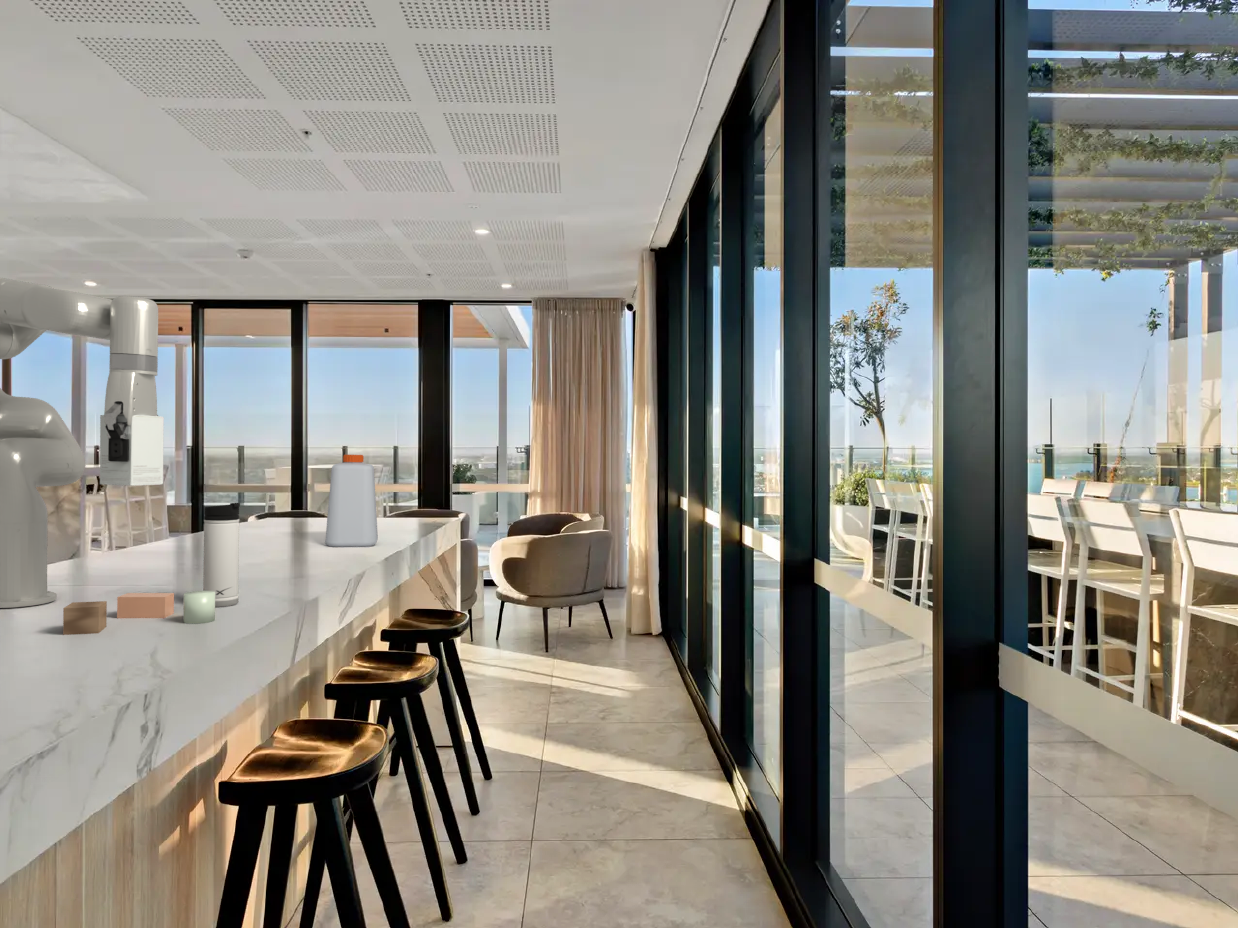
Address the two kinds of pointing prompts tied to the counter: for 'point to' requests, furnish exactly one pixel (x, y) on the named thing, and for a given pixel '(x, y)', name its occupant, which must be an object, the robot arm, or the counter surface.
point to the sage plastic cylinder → (199, 607)
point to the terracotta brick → (145, 605)
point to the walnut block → (84, 617)
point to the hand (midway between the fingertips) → (132, 460)
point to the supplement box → (135, 453)
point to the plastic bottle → (352, 504)
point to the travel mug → (221, 553)
